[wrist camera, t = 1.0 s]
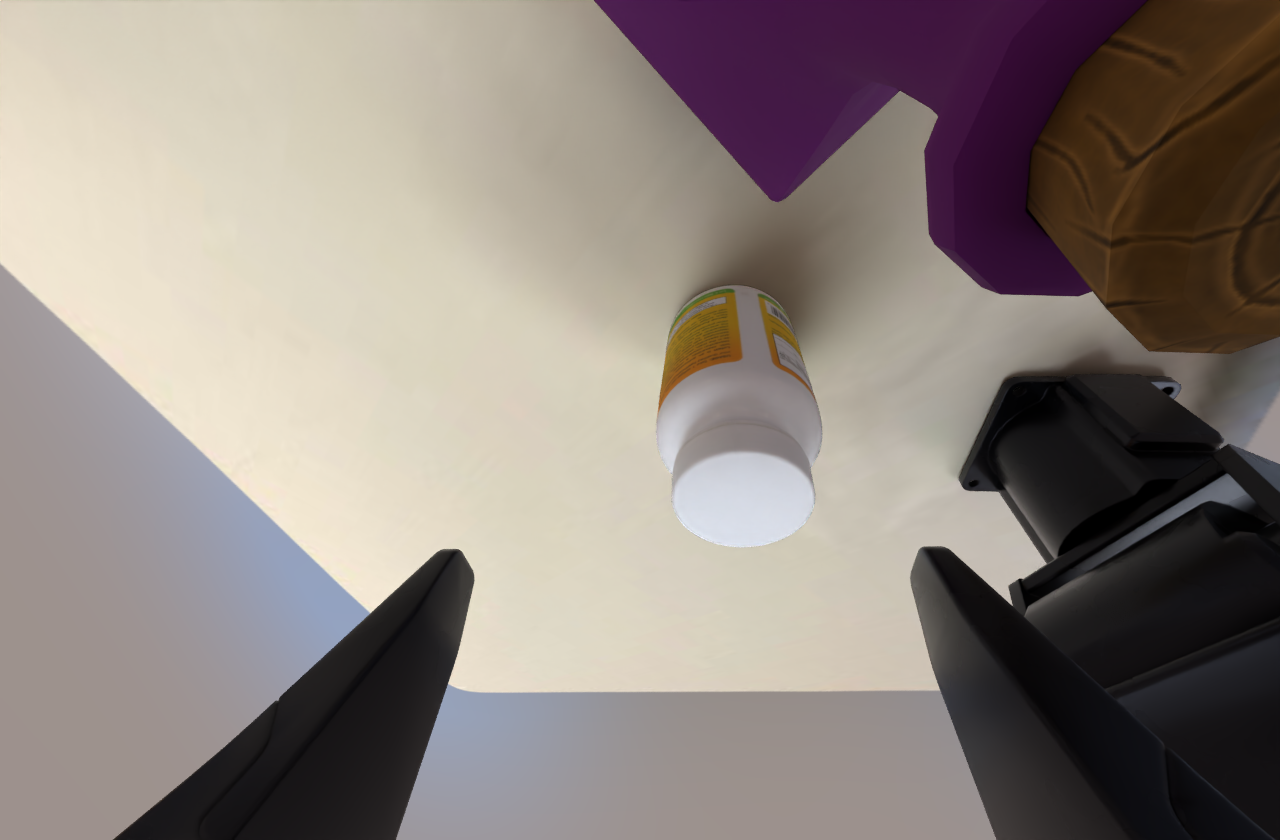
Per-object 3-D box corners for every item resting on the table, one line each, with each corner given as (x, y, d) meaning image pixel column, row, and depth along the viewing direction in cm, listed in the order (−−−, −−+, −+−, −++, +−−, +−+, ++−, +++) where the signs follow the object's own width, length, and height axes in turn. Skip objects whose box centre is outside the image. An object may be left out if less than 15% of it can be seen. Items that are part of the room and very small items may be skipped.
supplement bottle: (659, 380, 23) (634, 546, 15) (680, 270, 19) (662, 412, 12) (770, 400, 23) (802, 577, 15) (811, 294, 19) (879, 451, 12)
